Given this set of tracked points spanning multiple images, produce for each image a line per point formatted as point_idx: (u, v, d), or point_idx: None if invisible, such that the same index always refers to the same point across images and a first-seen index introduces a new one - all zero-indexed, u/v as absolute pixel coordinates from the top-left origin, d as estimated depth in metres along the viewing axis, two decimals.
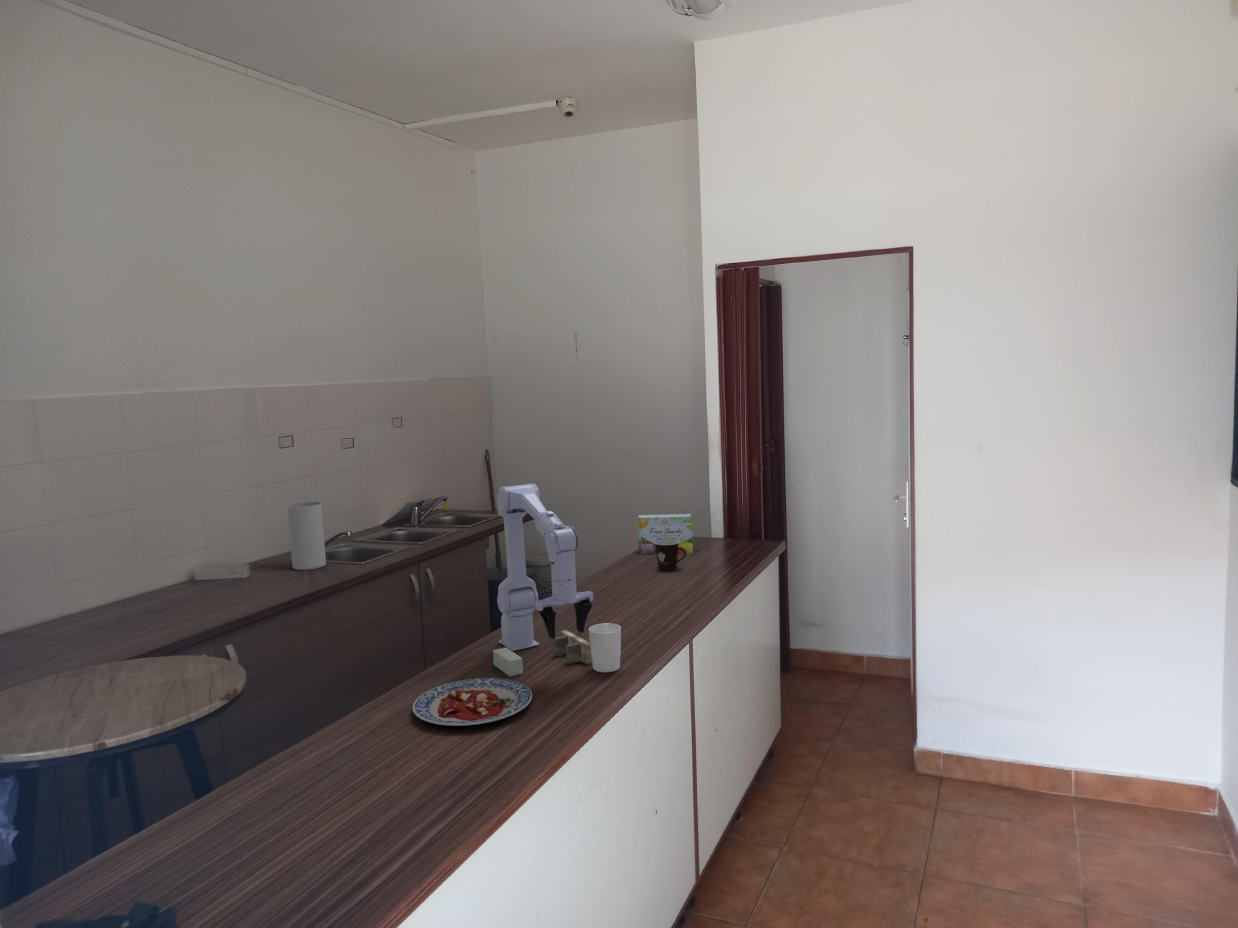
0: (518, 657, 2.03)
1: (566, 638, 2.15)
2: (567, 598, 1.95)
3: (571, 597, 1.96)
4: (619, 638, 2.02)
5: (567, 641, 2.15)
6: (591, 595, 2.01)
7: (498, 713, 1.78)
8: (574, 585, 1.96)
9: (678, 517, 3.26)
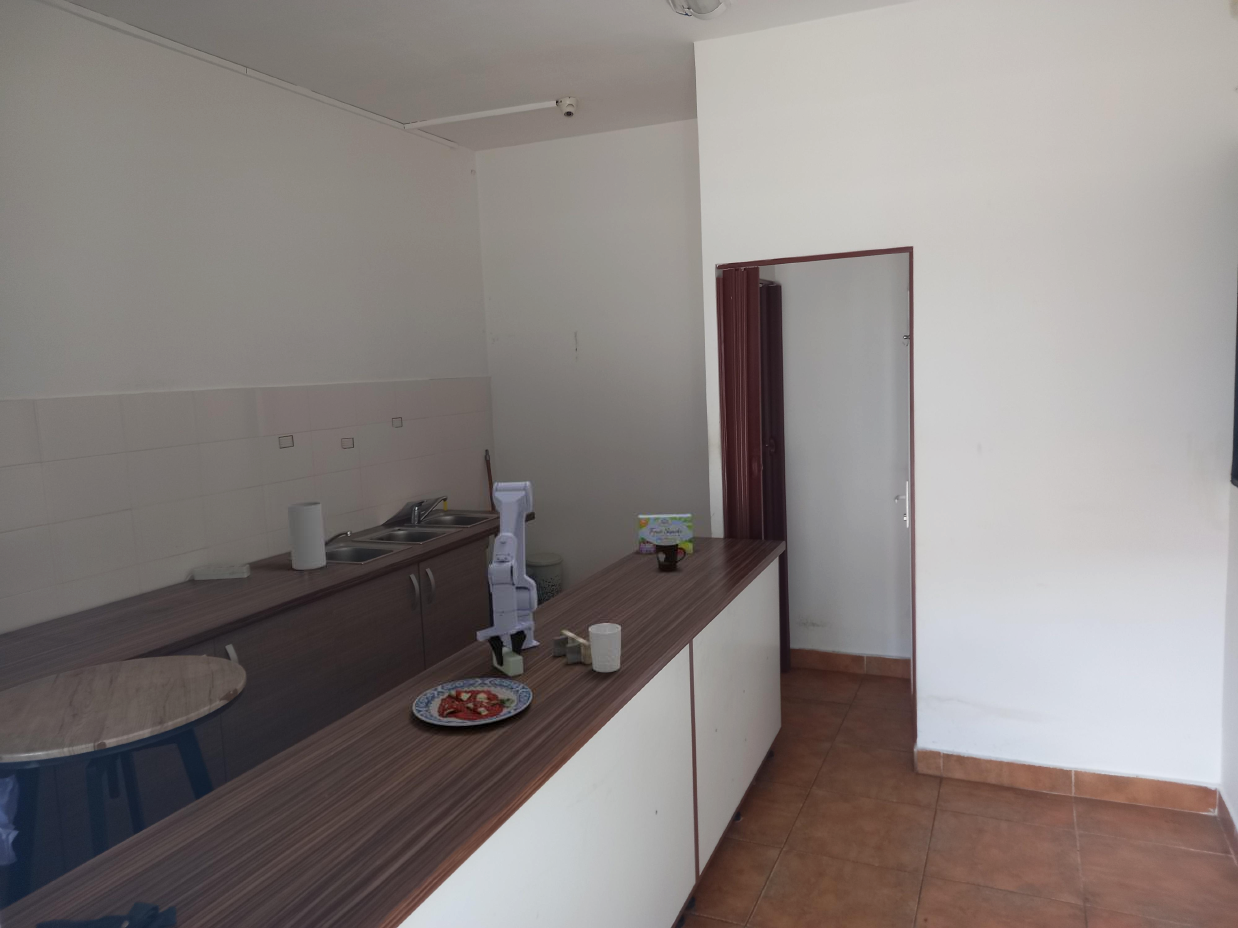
0: (518, 656, 2.03)
1: (566, 638, 2.15)
2: (507, 629, 2.02)
3: (511, 628, 2.03)
4: (619, 638, 2.02)
5: (567, 641, 2.15)
6: (532, 625, 2.08)
7: (498, 713, 1.78)
8: (515, 616, 2.03)
9: (678, 517, 3.26)
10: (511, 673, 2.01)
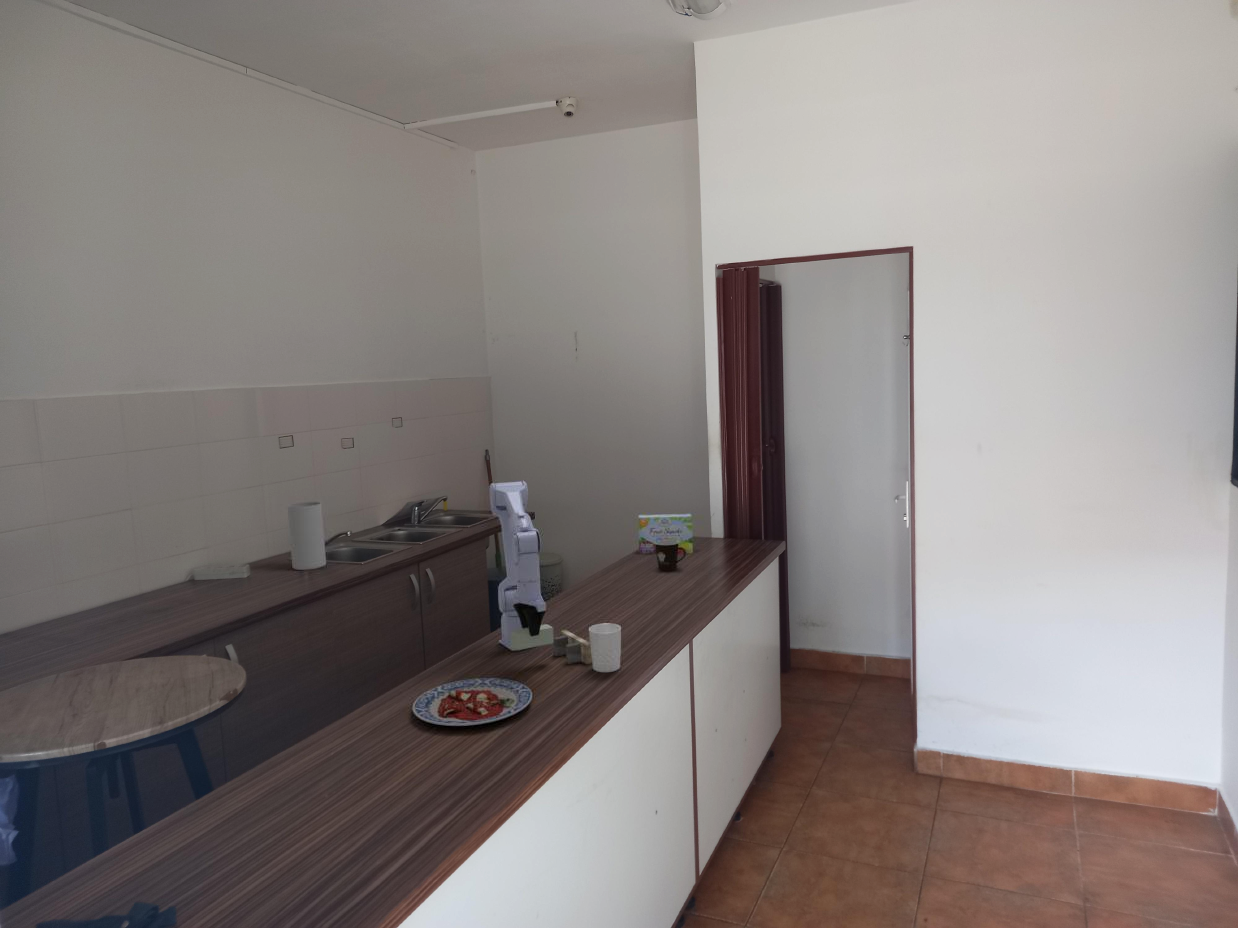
0: (519, 633, 2.03)
1: (566, 638, 2.15)
2: (517, 597, 2.05)
3: (519, 597, 2.04)
4: (619, 638, 2.02)
5: (567, 641, 2.15)
6: (537, 606, 1.99)
7: (498, 713, 1.78)
8: (522, 588, 2.03)
9: (678, 517, 3.26)
10: (511, 644, 2.05)
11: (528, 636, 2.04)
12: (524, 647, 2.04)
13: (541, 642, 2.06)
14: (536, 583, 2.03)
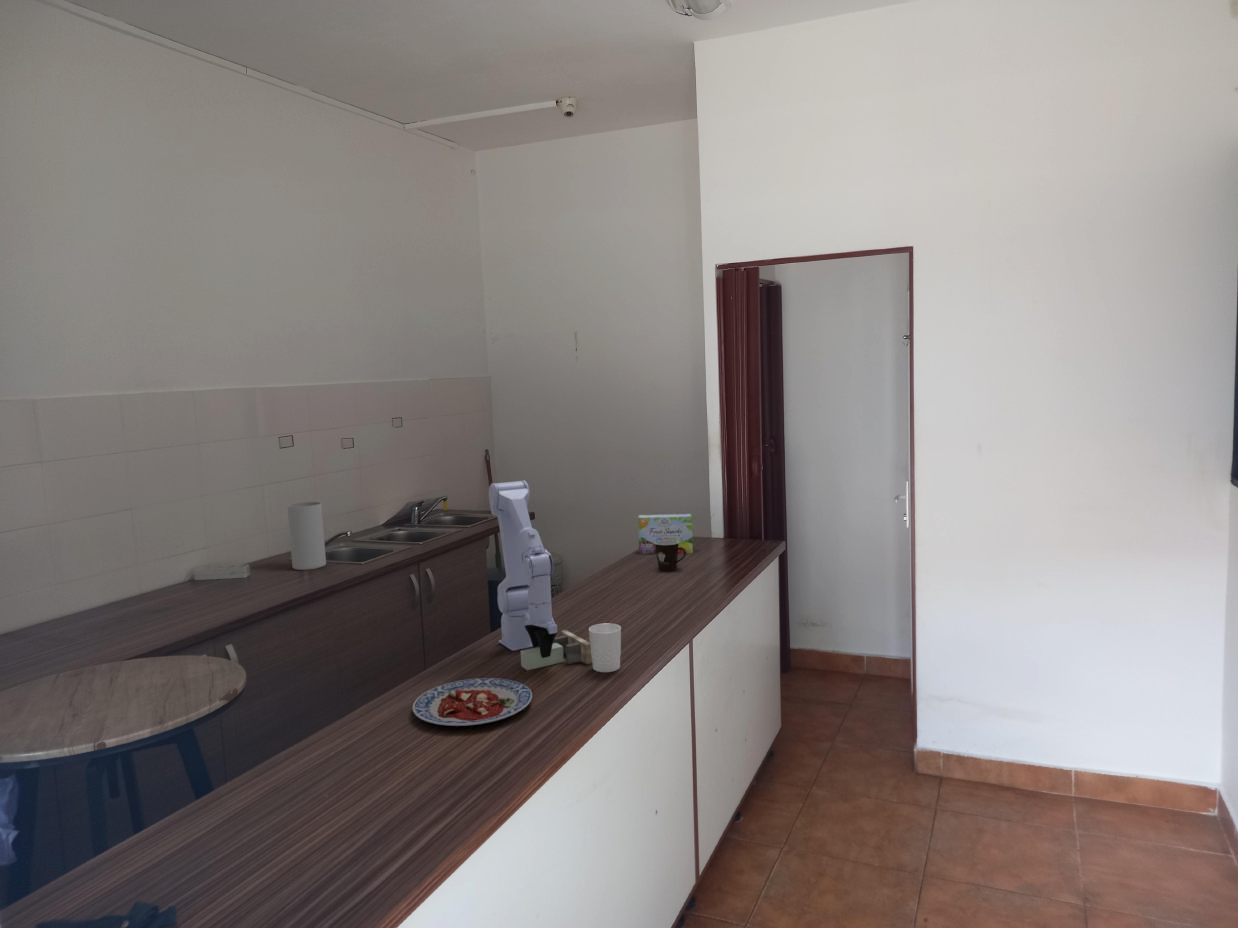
0: (529, 653, 2.05)
1: (566, 638, 2.15)
2: (529, 618, 2.07)
3: (530, 619, 2.06)
4: (619, 638, 2.02)
5: (567, 641, 2.15)
6: (548, 628, 2.01)
7: (498, 713, 1.78)
8: (534, 610, 2.05)
9: (678, 517, 3.26)
10: (521, 664, 2.07)
11: (538, 656, 2.06)
12: (534, 667, 2.06)
13: (551, 661, 2.08)
14: (547, 605, 2.05)
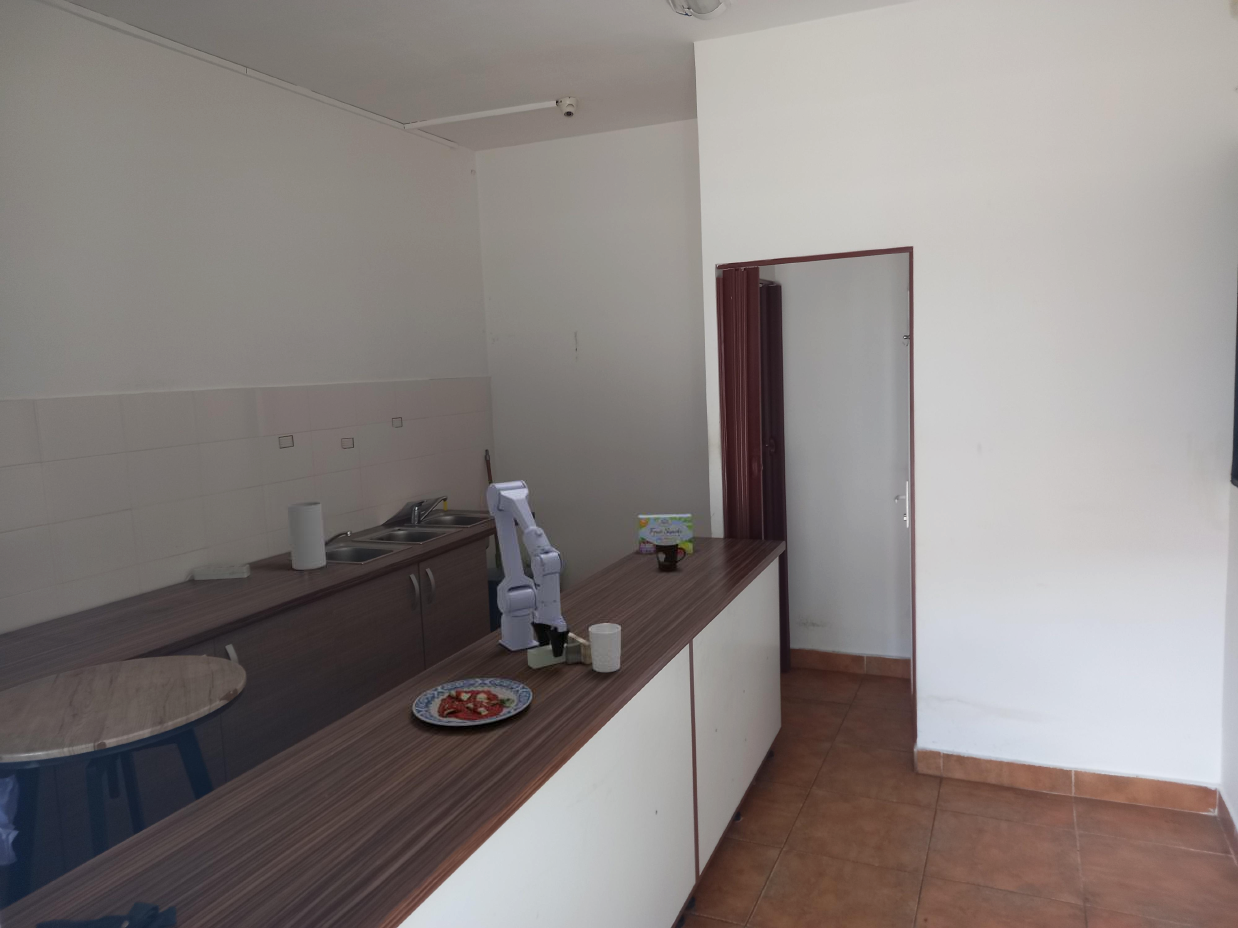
0: (536, 652, 2.06)
1: None
2: (538, 617, 2.08)
3: (540, 617, 2.07)
4: (619, 638, 2.02)
5: (567, 641, 2.15)
6: (558, 626, 2.02)
7: (498, 713, 1.78)
8: (543, 608, 2.06)
9: (678, 517, 3.26)
10: (528, 663, 2.08)
11: (544, 655, 2.07)
12: (541, 666, 2.07)
13: (558, 661, 2.09)
14: (556, 603, 2.06)
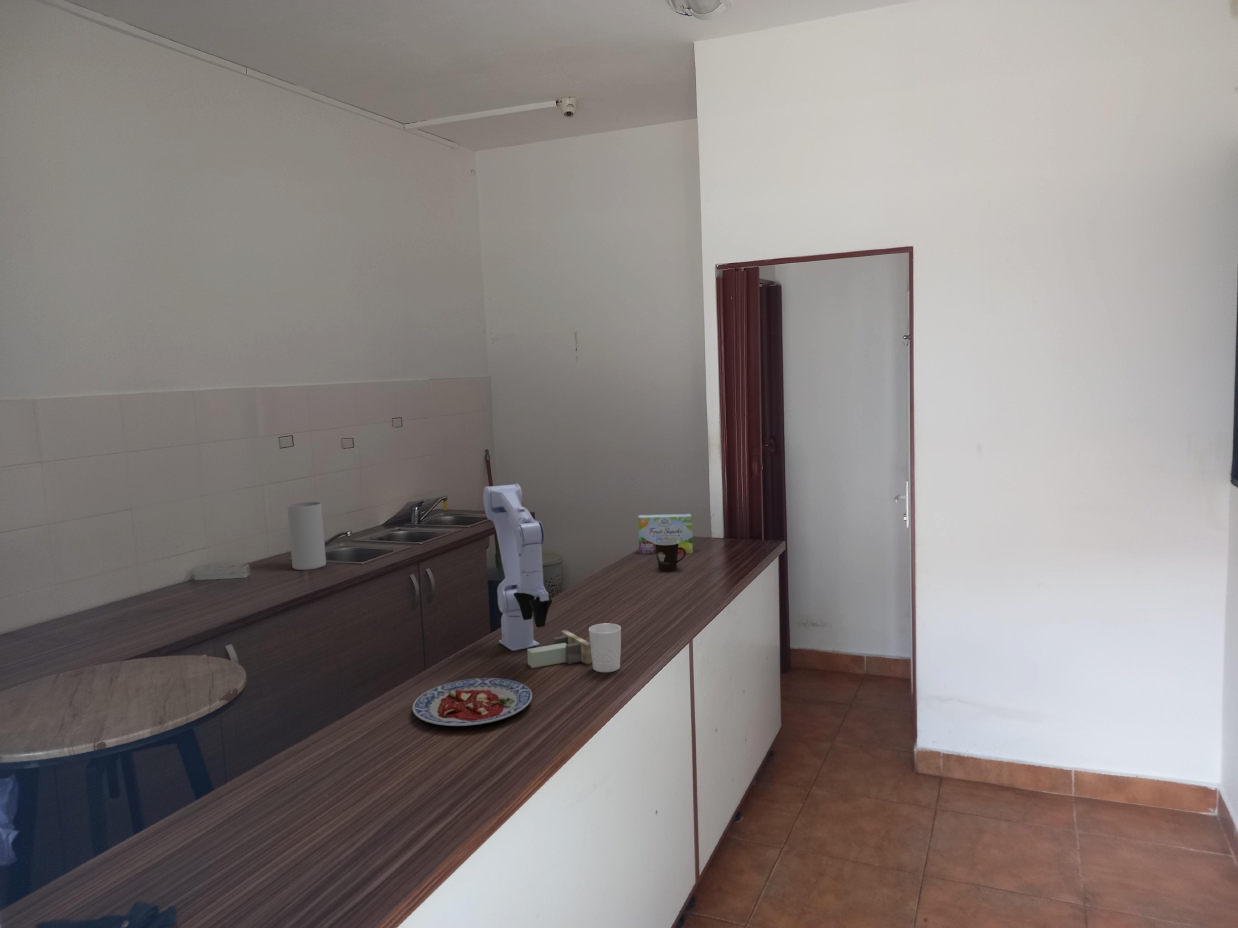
0: (534, 651, 2.07)
1: (566, 638, 2.15)
2: (520, 587, 2.08)
3: (522, 587, 2.07)
4: (619, 638, 2.02)
5: (567, 641, 2.15)
6: (540, 595, 2.03)
7: (498, 713, 1.78)
8: (525, 578, 2.06)
9: (678, 517, 3.26)
10: (528, 662, 2.09)
11: (543, 655, 2.07)
12: (540, 666, 2.07)
13: (557, 661, 2.09)
14: (539, 573, 2.07)
